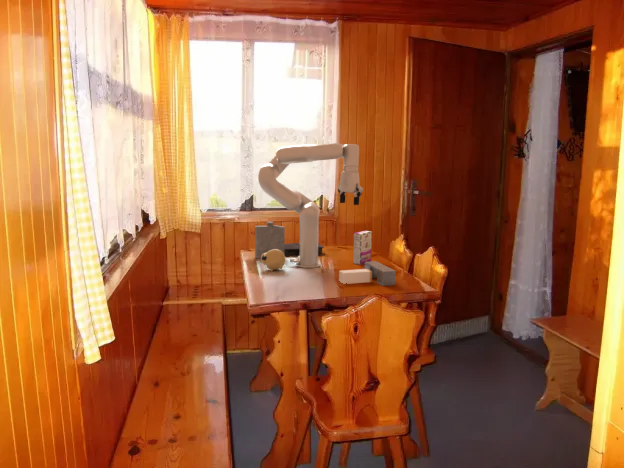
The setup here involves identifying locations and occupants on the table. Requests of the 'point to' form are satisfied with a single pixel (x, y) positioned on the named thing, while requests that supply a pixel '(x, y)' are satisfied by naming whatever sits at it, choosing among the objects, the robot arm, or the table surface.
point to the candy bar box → (362, 247)
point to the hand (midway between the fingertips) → (349, 203)
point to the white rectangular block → (355, 276)
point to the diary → (297, 249)
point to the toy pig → (273, 259)
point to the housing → (381, 273)
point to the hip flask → (269, 238)
